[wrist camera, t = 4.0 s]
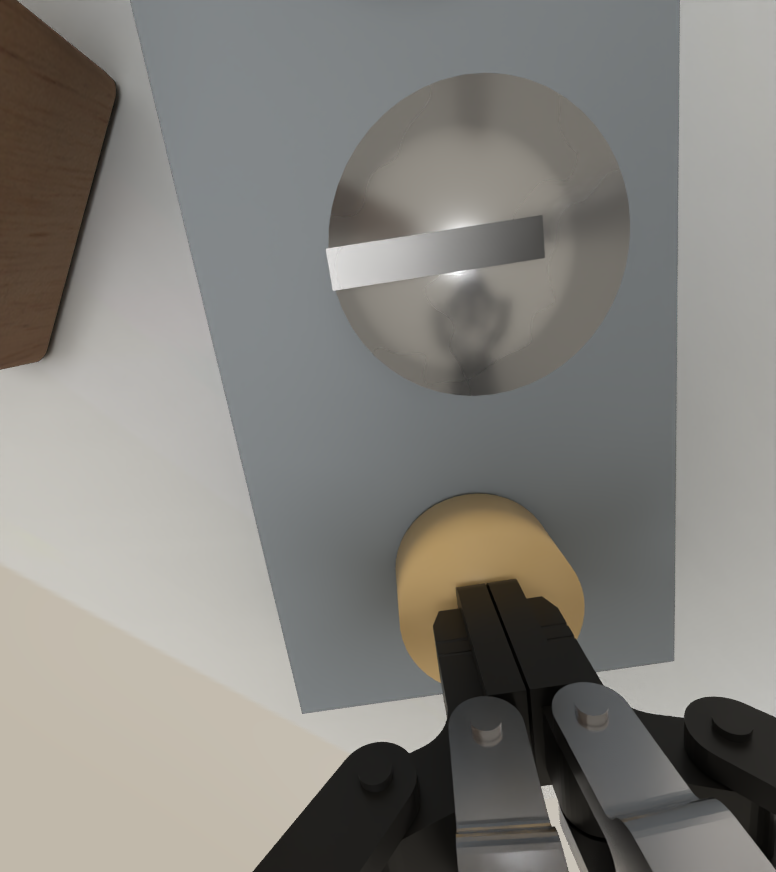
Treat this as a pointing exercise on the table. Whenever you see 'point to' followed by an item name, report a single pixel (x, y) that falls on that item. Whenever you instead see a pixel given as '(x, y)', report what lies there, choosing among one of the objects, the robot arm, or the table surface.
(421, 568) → the knob
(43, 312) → the wooden block
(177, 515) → the table surface
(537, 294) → the dial middle
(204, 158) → the panel
